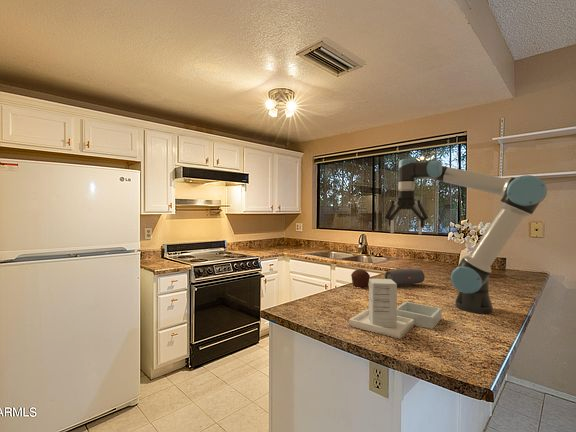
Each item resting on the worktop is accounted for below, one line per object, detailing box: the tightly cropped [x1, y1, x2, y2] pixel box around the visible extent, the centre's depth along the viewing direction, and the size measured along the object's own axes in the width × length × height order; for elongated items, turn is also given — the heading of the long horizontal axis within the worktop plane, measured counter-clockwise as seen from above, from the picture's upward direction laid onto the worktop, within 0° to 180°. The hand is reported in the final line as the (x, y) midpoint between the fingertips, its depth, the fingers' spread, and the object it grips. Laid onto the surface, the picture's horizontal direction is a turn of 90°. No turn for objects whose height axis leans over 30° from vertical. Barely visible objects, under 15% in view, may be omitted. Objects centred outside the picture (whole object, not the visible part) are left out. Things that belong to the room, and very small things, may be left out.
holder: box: [397, 301, 443, 330], centre depth 129 cm, size 15×15×4 cm
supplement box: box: [368, 278, 398, 328], centre depth 121 cm, size 10×9×17 cm
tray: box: [348, 308, 415, 340], centre depth 121 cm, size 20×17×2 cm
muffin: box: [350, 268, 371, 289], centre depth 186 cm, size 12×11×10 cm
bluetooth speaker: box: [384, 268, 425, 287], centre depth 189 cm, size 23×9×10 cm, turn 105°
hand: (405, 233), depth 152 cm, fingers open, 13 cm apart
